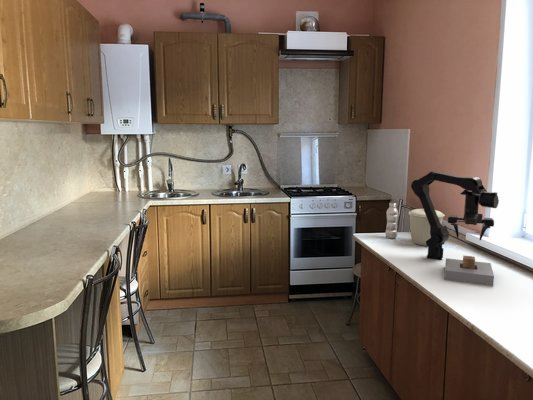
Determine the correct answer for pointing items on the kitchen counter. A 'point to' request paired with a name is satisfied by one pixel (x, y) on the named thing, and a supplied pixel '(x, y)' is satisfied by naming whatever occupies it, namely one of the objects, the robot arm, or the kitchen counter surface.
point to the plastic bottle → (391, 221)
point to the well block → (469, 272)
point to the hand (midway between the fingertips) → (468, 239)
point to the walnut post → (468, 262)
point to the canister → (421, 226)
